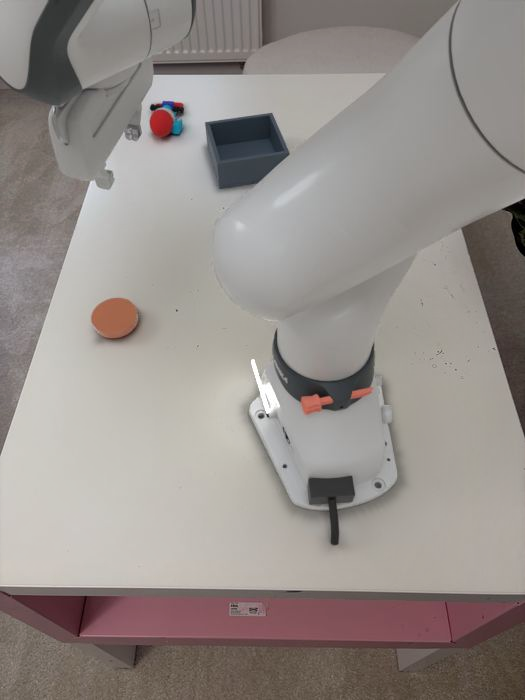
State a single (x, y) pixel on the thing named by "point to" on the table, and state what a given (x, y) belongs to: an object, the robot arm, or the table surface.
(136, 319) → the orange hockey puck
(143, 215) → the table surface
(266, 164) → the tub
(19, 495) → the table surface
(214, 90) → the table surface
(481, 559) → the table surface
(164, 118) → the toy figure
